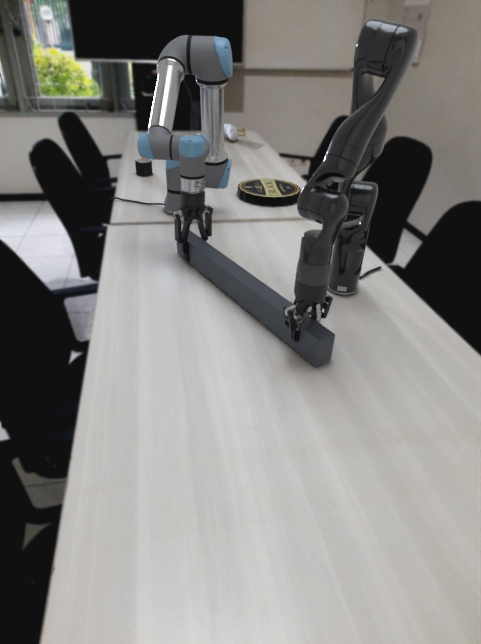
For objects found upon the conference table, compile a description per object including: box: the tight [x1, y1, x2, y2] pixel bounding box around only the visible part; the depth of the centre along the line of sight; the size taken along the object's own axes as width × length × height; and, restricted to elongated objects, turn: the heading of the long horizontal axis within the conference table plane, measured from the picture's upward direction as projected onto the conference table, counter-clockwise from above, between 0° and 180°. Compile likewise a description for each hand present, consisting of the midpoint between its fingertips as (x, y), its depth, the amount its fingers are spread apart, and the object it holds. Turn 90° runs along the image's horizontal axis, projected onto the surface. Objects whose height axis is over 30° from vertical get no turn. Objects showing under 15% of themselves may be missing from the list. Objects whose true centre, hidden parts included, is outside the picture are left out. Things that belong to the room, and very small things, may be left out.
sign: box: [236, 177, 302, 208], centre depth 212 cm, size 30×4×30 cm
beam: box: [176, 230, 336, 367], centre depth 130 cm, size 72×5×8 cm, turn 34°
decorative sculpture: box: [224, 123, 246, 142], centre depth 314 cm, size 10×22×30 cm
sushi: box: [134, 157, 154, 177], centre depth 233 cm, size 8×8×8 cm
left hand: (194, 258), depth 151 cm, fingers closed on beam, 5 cm apart
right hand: (303, 336), depth 111 cm, fingers closed on beam, 5 cm apart
